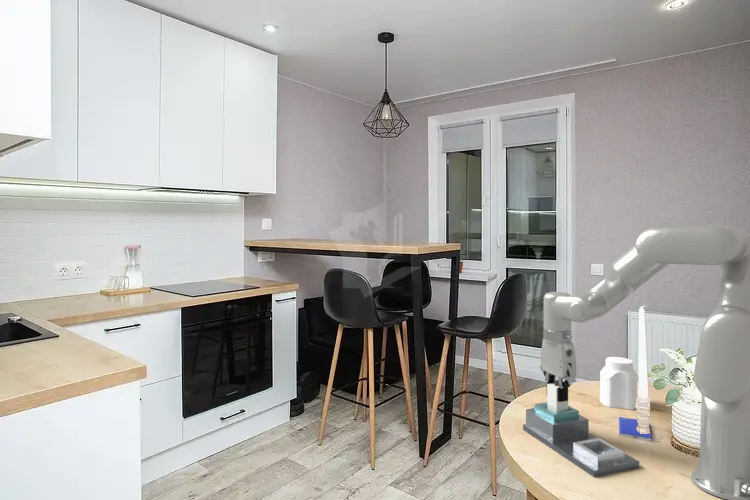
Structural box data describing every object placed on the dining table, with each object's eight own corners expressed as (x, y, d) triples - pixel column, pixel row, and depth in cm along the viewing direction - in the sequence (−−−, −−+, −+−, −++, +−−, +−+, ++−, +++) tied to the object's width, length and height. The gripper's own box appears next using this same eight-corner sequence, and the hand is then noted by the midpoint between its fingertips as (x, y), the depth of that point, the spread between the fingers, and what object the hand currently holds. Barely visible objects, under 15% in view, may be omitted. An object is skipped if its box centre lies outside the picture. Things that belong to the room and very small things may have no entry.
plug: (568, 414, 133) (568, 382, 132) (556, 416, 132) (556, 384, 131) (558, 409, 137) (558, 378, 136) (547, 411, 135) (547, 379, 135)
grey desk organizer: (639, 467, 116) (639, 435, 115) (593, 477, 111) (594, 444, 111) (562, 423, 142) (562, 397, 142) (523, 429, 138) (523, 403, 138)
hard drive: (618, 416, 145) (619, 432, 134) (649, 421, 141) (652, 437, 130) (618, 421, 145) (619, 437, 134) (649, 426, 141) (652, 443, 130)
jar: (601, 406, 155) (601, 362, 155) (598, 396, 164) (598, 354, 164) (640, 411, 151) (641, 365, 151) (635, 400, 160) (636, 357, 160)
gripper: (589, 340, 126) (589, 407, 127) (549, 328, 142) (548, 387, 143) (566, 343, 124) (566, 410, 125) (528, 330, 140) (528, 390, 141)
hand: (557, 397), depth 134 cm, fingers closed on plug, 4 cm apart
